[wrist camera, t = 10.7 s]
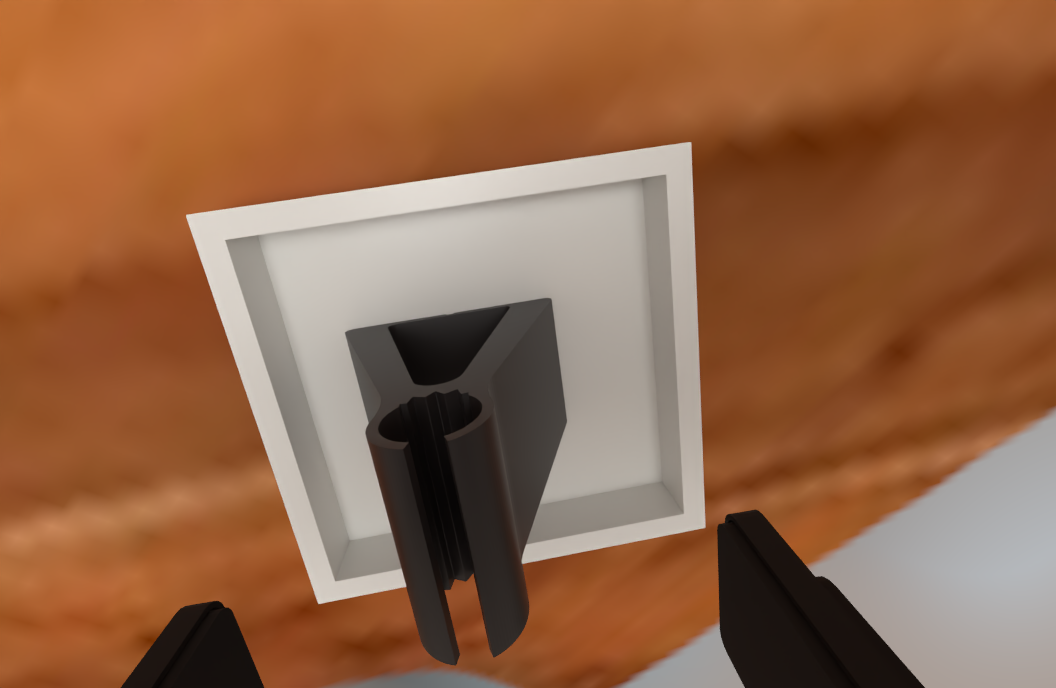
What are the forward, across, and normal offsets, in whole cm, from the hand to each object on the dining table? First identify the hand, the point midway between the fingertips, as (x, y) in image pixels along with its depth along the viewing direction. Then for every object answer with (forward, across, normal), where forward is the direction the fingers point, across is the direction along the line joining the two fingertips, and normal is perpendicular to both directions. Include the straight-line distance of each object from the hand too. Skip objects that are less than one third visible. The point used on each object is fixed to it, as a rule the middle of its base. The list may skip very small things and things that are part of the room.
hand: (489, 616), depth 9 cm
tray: (+14, 0, 0) cm, 15 cm away
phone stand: (+14, +1, 0) cm, 14 cm away
